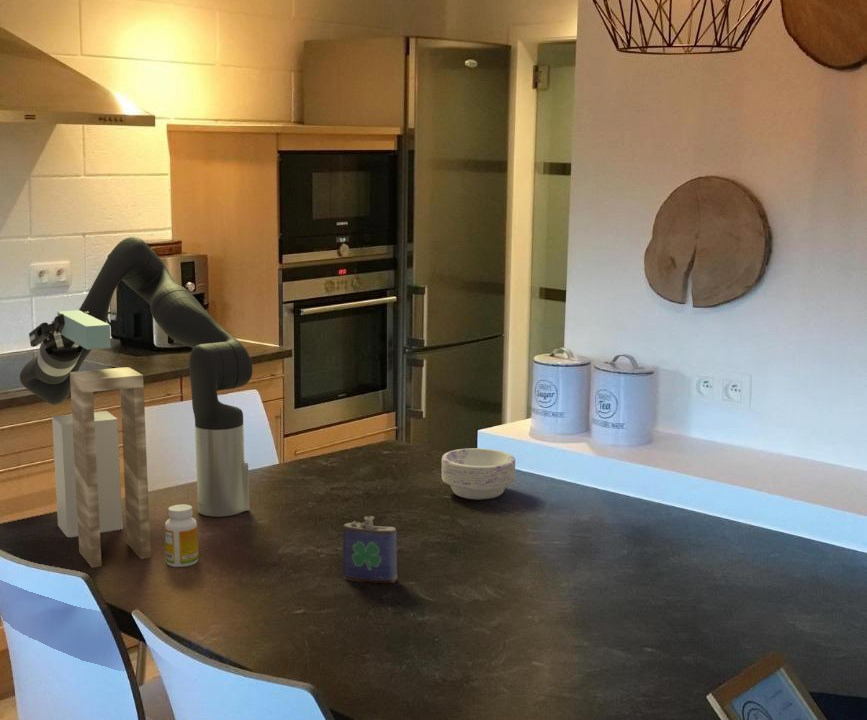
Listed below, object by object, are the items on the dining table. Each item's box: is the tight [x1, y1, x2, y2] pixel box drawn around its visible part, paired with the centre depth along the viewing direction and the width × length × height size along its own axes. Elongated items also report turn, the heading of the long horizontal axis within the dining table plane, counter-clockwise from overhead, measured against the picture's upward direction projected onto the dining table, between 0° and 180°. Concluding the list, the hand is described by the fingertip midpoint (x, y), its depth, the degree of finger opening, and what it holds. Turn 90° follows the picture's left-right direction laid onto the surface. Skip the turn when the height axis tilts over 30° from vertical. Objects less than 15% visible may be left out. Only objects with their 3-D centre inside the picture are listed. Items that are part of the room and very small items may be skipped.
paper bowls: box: [441, 447, 516, 500], centre depth 233 cm, size 15×15×8 cm
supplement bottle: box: [164, 503, 199, 568], centre depth 192 cm, size 5×5×10 cm
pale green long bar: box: [56, 309, 112, 350], centre depth 203 cm, size 4×22×4 cm, turn 30°
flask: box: [342, 515, 398, 584], centre depth 184 cm, size 9×3×11 cm, turn 74°
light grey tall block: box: [51, 410, 124, 539], centre depth 210 cm, size 10×8×21 cm
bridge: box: [70, 366, 152, 569], centre depth 194 cm, size 10×9×32 cm
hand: (75, 317), depth 207 cm, fingers closed on pale green long bar, 4 cm apart
